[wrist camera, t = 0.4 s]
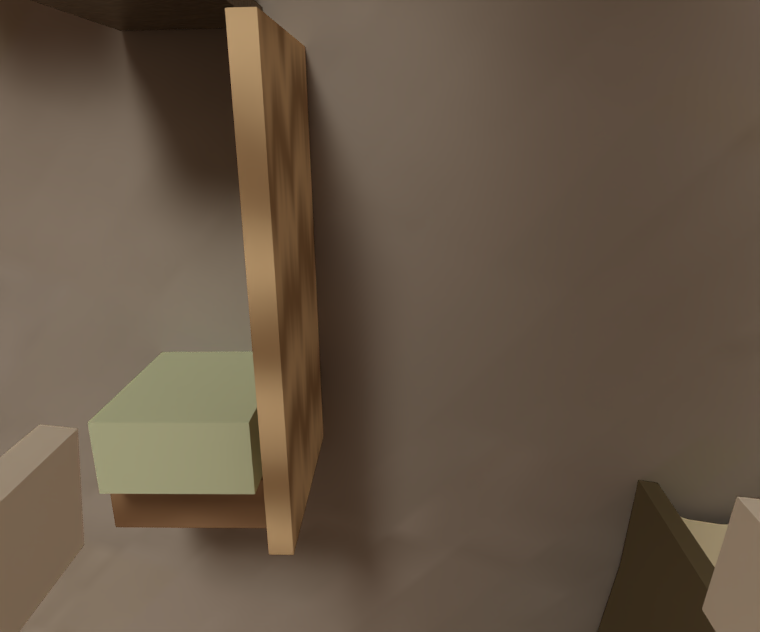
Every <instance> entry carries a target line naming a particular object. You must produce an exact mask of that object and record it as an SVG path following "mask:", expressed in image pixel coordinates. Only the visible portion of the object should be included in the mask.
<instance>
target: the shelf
mask: <svg viewBox="0 0 760 632" xmlns="http://www.w3.org/2000/svg"><path fill="white" fill-rule="evenodd" d="M225 16H226V28H227V41H228V53H229V66H230V78H231V90H232V103H233V115H234V128H235V140H236V152H237V165H238V177H239V190H240V202H241V214H242V227H243V239H244V252H245V264H246V277H247V289H248V301H249V314H250V326H251V339H252V351H253V363H254V376H255V388H256V401H257V413H258V425H259V438H260V450H261V463H262V478H261V480H260V483H259V485H258V488H257V490H256V493H255V494H111V500H112V507H113V513H114V519H115V525H116V527H171V528H267V537H268V550H269V555H294V551H295V547H296V543H297V539H298V535H299V531H300V527H301V523H302V519H303V516H304V512H305V508H306V504H307V500H308V496H309V492H310V488H311V484H312V480H313V476H314V472H315V468H316V464H317V460H318V456H319V452H320V448H321V444H322V440H323V415H322V394H321V373H320V352H319V331H318V309H317V288H316V267H315V246H314V225H313V204H312V183H311V162H310V140H309V119H308V98H307V77H306V56H305V46H304V45H302V44H301V43H300V42H299V41H298V40H296V39H295V38H294V37H293V36H292V35H290V34H289V33H288V32H287V31H286V30H284V29H283V28H282V27H281V26H279V25H278V24H277V23H276V22H275V21H273V20H272V19H271V18H270V17H269V16H267V15H266V14H265V13H264V12H263V11H261V10H260V9H259V8H258V7H230V8H225Z"/></svg>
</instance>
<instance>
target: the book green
mask: <svg viewBox="0 0 760 632" xmlns="http://www.w3.org/2000/svg"><path fill="white" fill-rule="evenodd" d="M88 428H89V434H90V440H91V446H92V452H93V458H94V464H95V470H96V475H97V481H98V487H99V493H100V494H255V493H256V490H257V488H258V485H259V483H260V480H261V478H262V463H261V450H260V438H259V425H258V413H257V401H256V388H255V376H254V363H253V352H162V353H161V354H160V355H159V356H158V357H156V358H155V359H154V360H153V361H152V362H151V363H150V364H149V365H148V366H147V367H146V368H145V369H144V370H143V371H142V372H141V373H140V374H138V375H137V376H136V377H135V378H134V379H133V380H132V381H131V382H130V383H129V384H128V385H127V386H126V387H125V388H124V389H123V390H122V391H120V392H119V393H118V394H117V395H116V396H115V397H114V398H113V399H112V400H111V401H110V402H109V403H108V404H107V405H106V406H105V407H104V408H102V409H101V410H100V411H99V412H98V413H97V414H96V415H95V416H94V417H93V418H92V419H91V420H90V421H89V422H88Z"/></svg>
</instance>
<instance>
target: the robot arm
mask: <svg viewBox="0 0 760 632" xmlns="http://www.w3.org/2000/svg"><path fill="white" fill-rule="evenodd" d="M83 546H84V532H83V514H82V496H81V478H80V459H79V441H78V428H69V427H59V426H49V425H40V424H39V425H38V426H37V427H36V428H35V429H33V430H32V431H31V432H30V433H29V434H27V435H26V436H25V437H24V438H23V439H21V440H20V441H19V442H18V443H17V444H16V445H14V446H13V447H12V448H11V449H10V450H8V451H7V452H6V453H5V454H4V455H2V456H1V457H0V632H19V631H20V630H21V629H22V627H23V626H24V625H25V623H26V622H27V621H28V619H29V618H30V617H31V615H32V614H33V613H34V611H35V610H36V609H37V607H38V606H39V605H40V603H41V602H42V601H43V599H44V598H45V597H46V595H47V594H48V593H49V591H50V590H51V589H52V587H53V586H54V585H55V583H56V582H57V581H58V579H59V578H60V577H61V575H62V574H63V573H64V571H65V570H66V569H67V567H68V566H69V565H70V563H71V562H72V561H73V559H74V558H75V557H76V555H77V554H78V553H79V551H80V550H81V549H82V547H83ZM702 610H703V612H704V614H705V615H706V617H707V618H708V620H709V622H710V623H711V625H712V627H713V628H714V630H715V631H716V632H760V499H755V498H745V497H737V498H736V501H735V504H734V508H733V511H732V514H731V517H730V521H729V524H728V527H727V530H726V533H725V537H724V540H723V543H722V546H721V549H720V553H719V556H718V559H717V562H716V565H715V569H714V572H713V575H712V578H711V581H710V585H709V588H708V591H707V594H706V598H705V601H704V604H703V607H702Z"/></svg>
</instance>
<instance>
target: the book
mask: <svg viewBox="0 0 760 632" xmlns="http://www.w3.org/2000/svg"><path fill="white" fill-rule="evenodd" d="M756 499H759V498H756ZM727 527H728V524H715V523H708V522H702V521H695V520H689V519H686V518H683V517H680V515H679V514H678V512H677V511H676V509H675V508H674V507H673V505H672V504H671V502H670V501H669V499H668V498H667V496H666V495H665V493H664V492H663V490H662V489H661V487H660V486H659V484H658V483H655V482H648V481H642V480H638V485H637V490H636V494H635V499H634V503H633V508H632V513H631V517H630V522H629V527H628V531H627V536H626V541H625V545H624V550H623V554H622V559H621V564H620V567H619V570H618V573H617V576H616V579H615V582H614V585H613V588H612V591H611V594H610V597H609V600H608V603H607V606H606V608H605V611H604V614H603V617H602V620H601V623H600V626H599V629H598V632H716V631H715V630H714V628H713V627H712V625H711V623H710V622H709V620H708V618H707V617H706V615H705V614H704V612H703V610H702V607H703V604H704V601H705V598H706V594H707V591H708V588H709V585H710V581H711V578H712V575H713V572H714V569H715V565H716V562H717V559H718V556H719V553H720V549H721V546H722V543H723V540H724V537H725V533H726V530H727Z"/></svg>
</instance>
